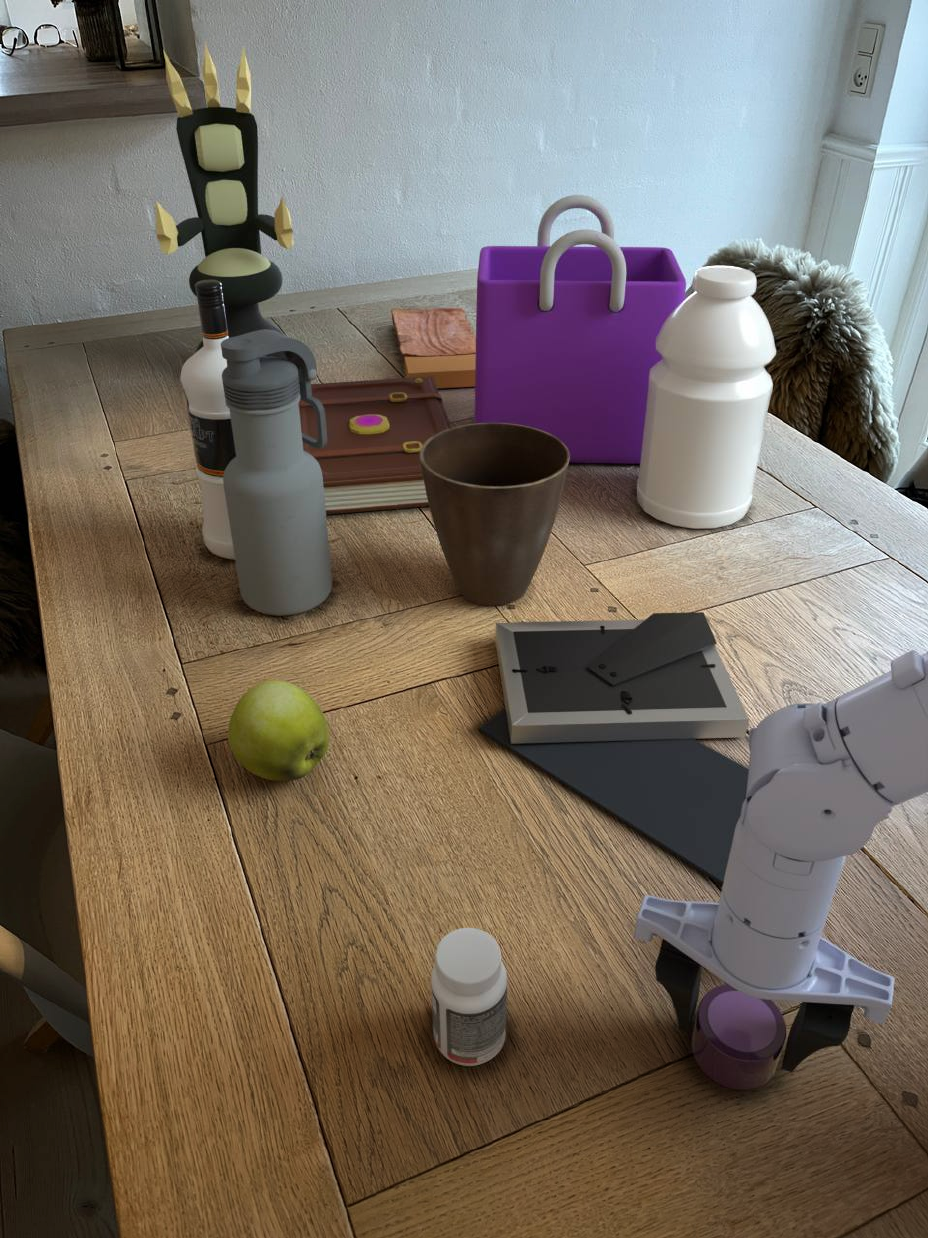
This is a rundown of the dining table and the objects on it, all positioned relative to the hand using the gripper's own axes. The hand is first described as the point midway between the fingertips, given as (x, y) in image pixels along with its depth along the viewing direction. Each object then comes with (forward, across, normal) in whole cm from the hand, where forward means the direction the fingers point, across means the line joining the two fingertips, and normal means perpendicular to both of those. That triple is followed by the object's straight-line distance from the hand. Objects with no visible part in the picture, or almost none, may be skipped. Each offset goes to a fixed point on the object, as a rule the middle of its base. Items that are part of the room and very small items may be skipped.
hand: (737, 1037), depth 64 cm
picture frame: (+1, +18, -32) cm, 37 cm away
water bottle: (+2, +55, -34) cm, 64 cm away
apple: (+2, +41, -11) cm, 42 cm away
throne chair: (+2, +97, -87) cm, 131 cm away
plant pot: (+2, +35, -44) cm, 56 cm away
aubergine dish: (+1, 0, 0) cm, 1 cm away
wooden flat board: (+2, +70, -104) cm, 126 cm away
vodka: (+2, +65, -41) cm, 77 cm away
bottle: (+2, +20, -71) cm, 74 cm away
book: (+2, +63, -67) cm, 92 cm away
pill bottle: (+2, +16, +6) cm, 17 cm away
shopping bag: (+2, +40, -83) cm, 92 cm away
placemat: (+1, +12, -22) cm, 26 cm away
